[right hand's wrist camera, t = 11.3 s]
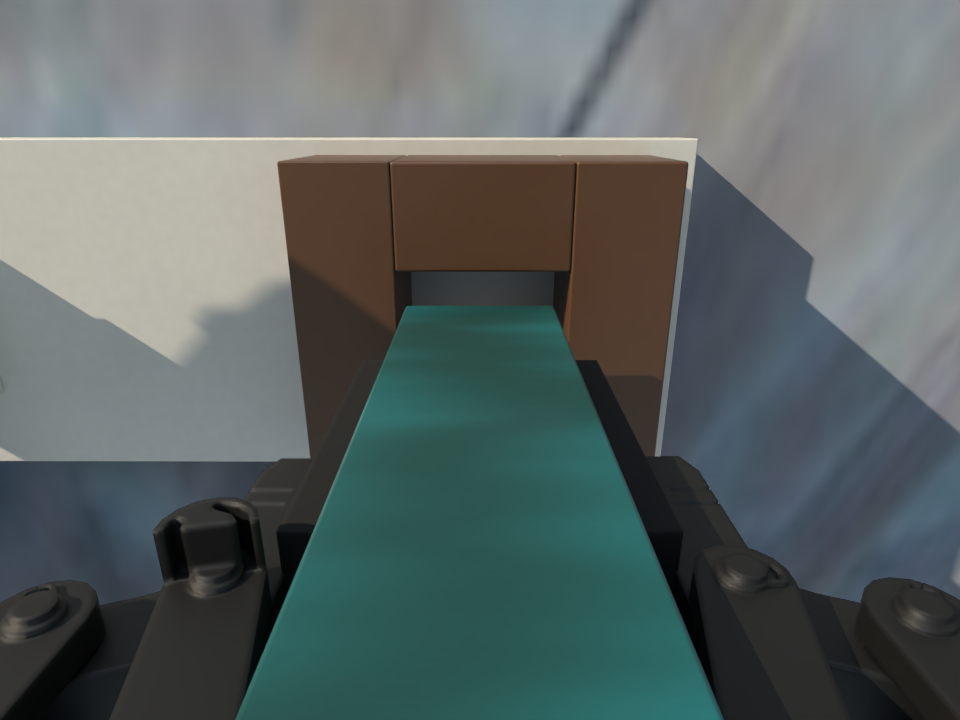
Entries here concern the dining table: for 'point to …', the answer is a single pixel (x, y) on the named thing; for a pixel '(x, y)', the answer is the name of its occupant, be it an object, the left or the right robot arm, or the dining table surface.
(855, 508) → the dining table surface
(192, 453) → the peg board
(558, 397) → the peg
